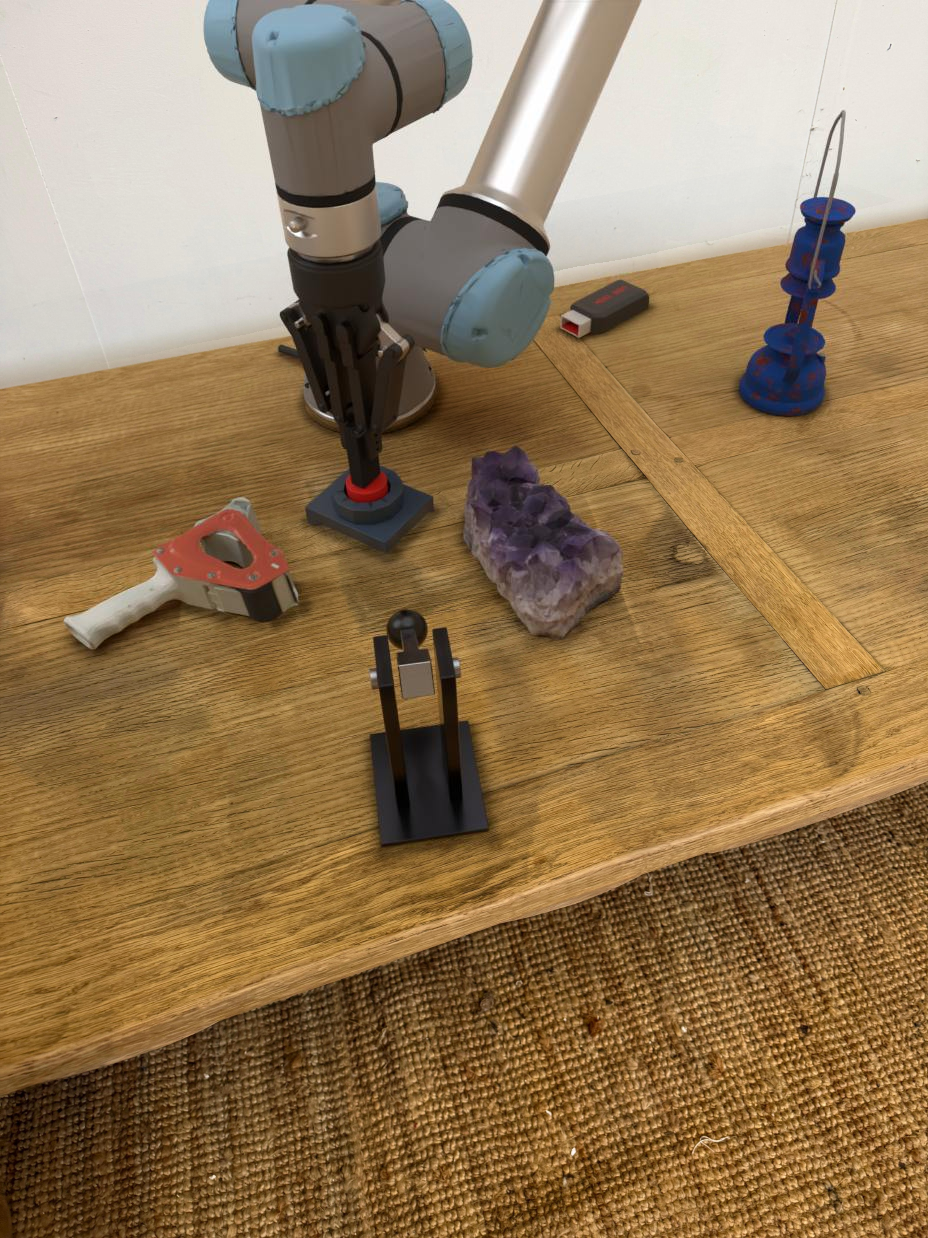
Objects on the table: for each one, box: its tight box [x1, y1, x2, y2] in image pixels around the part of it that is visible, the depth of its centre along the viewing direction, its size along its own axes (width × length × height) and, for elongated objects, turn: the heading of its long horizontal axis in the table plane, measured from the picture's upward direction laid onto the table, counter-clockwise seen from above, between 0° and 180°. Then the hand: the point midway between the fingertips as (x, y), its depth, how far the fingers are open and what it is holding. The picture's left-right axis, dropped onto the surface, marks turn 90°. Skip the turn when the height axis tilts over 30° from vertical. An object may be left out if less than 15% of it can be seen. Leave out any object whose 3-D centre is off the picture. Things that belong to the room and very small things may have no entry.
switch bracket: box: [368, 626, 490, 848], centre depth 67 cm, size 10×8×16 cm
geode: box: [462, 445, 624, 640], centre depth 86 cm, size 20×12×10 cm, turn 30°
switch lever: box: [385, 608, 436, 700], centre depth 67 cm, size 13×3×3 cm
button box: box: [304, 465, 435, 554], centre depth 93 cm, size 10×8×4 cm
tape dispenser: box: [63, 497, 300, 650], centre depth 86 cm, size 18×5×20 cm
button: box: [346, 471, 388, 503], centre depth 92 cm, size 4×4×2 cm
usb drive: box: [559, 279, 650, 339], centre depth 119 cm, size 5×12×3 cm, turn 132°
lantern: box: [738, 109, 857, 417], centre depth 96 cm, size 11×9×30 cm
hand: (366, 478), depth 91 cm, fingers closed
